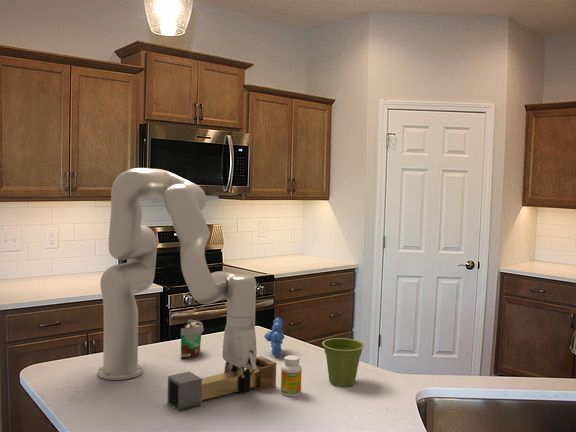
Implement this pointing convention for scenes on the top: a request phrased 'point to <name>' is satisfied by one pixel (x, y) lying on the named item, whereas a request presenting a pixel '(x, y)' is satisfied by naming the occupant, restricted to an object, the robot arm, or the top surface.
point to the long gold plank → (226, 383)
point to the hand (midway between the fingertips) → (239, 388)
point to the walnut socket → (266, 374)
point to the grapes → (276, 336)
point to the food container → (191, 339)
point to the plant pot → (342, 360)
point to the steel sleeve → (184, 391)
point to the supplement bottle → (291, 376)
